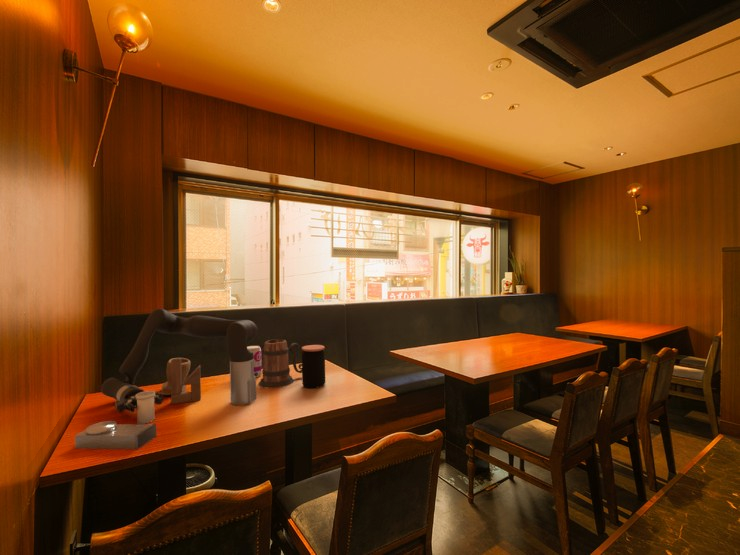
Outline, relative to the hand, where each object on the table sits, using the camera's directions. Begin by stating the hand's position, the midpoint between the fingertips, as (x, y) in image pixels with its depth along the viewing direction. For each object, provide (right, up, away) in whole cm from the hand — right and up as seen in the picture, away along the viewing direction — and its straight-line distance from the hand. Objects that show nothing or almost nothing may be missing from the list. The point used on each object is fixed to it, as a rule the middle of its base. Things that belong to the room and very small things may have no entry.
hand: (147, 405), depth 126 cm
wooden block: (+3, -6, +21) cm, 22 cm away
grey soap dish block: (0, -6, -15) cm, 16 cm away
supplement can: (+20, -5, +56) cm, 59 cm away
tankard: (+37, -5, +47) cm, 60 cm away
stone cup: (-8, -6, +33) cm, 35 cm away
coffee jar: (+54, -5, +38) cm, 66 cm away
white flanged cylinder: (-1, -6, +1) cm, 6 cm away
